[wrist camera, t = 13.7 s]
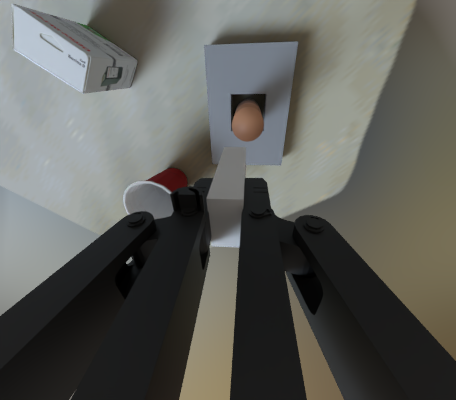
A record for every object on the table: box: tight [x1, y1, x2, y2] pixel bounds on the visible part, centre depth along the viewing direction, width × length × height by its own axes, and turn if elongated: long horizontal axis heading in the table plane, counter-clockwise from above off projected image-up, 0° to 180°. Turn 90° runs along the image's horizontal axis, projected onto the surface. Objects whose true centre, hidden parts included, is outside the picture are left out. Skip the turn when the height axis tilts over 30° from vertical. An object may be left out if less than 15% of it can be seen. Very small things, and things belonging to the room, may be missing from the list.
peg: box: [232, 99, 264, 142], centre depth 29 cm, size 4×4×12 cm
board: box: [204, 41, 298, 165], centre depth 33 cm, size 18×13×3 cm
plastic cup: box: [123, 168, 187, 219], centre depth 38 cm, size 11×11×12 cm
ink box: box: [11, 4, 137, 94], centre depth 27 cm, size 9×5×12 cm, turn 57°
